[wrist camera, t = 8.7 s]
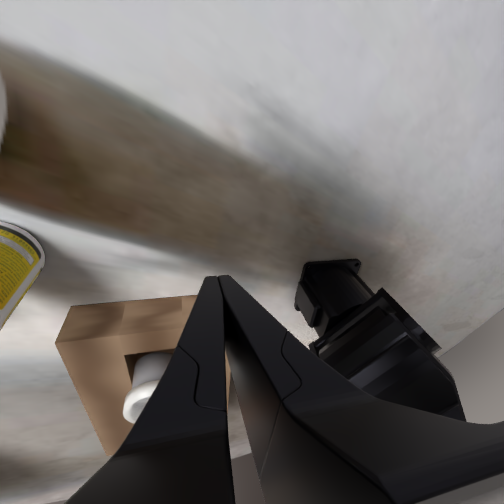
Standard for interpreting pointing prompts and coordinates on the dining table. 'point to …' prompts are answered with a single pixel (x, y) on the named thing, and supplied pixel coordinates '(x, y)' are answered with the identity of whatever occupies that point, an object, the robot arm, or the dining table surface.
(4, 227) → the supplement bottle
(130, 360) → the wooden socket block
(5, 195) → the dining table surface
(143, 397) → the plug
